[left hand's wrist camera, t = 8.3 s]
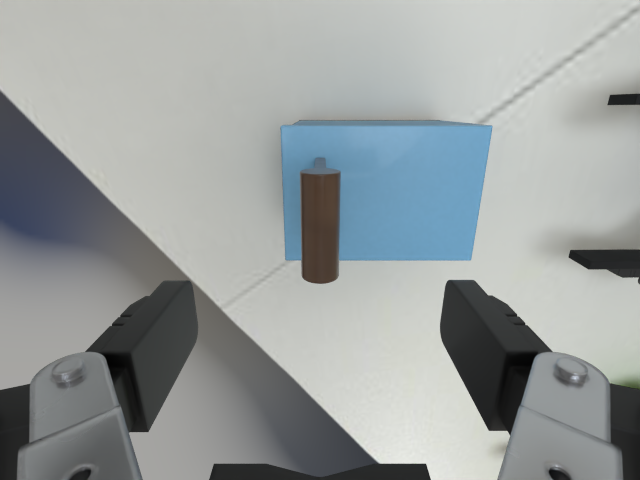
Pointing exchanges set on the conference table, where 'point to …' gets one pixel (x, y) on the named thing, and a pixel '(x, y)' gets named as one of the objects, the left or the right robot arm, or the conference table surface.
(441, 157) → the blue box lid
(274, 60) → the conference table surface
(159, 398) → the left robot arm
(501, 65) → the conference table surface
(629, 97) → the right robot arm
